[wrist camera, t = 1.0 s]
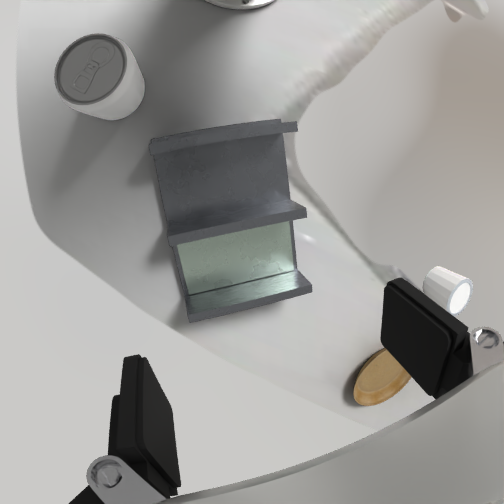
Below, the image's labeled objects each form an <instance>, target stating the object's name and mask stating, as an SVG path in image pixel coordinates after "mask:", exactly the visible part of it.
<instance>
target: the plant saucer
mask: <svg viewBox="0 0 504 504" xmlns="http://www.w3.org/2000/svg"><path fill="white" fill-rule="evenodd" d="M410 379H411V375H410V374H409V373H408V372H407V371H406V370H405V369H404V368H403V367H402V366H401V365H400V363H399V362H398V361H397V360H396V359H395V358H394V357H393V356H392V355H391V354H390V353H389V352H388V351H387V349H386V348H384V349H382V350H380V351H378V352H377V353H376V354H374V355H373V356H372V357H371V358H370V359H369V360H368V361H367V362H366V363H365V364H364V366H363V367H362V368H361V370H360V372H359V374H358V376H357V379H356V382H355V385H354V392H353V395H354V399H355V401H356V402H357V403H358V404H360V405H363V406H372V405H376V404H379V403H382V402H384V401H386V400H388V399H389V398H391V397H393V396H394V395H395V394H397V393H398V392H399V391H400V390H401V389H402V388H403V387H404V386H405V385H406V384H407V383H408V381H409V380H410Z"/></svg>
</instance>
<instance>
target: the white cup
mask: <svg viewBox="0 0 504 504" xmlns="http://www.w3.org/2000/svg"><path fill="white" fill-rule="evenodd" d="M472 291H473V283H472V281H471V280H470V279H468V278H465V277H463V276H461V275H459V274H456V273H454V272H452V271H449V270H447V269H445V268H442V267H439V266H437V267H434V268H433V269H431V270H430V271H429V273H428V274H427V275H426V278H425V280H424V283H423V292H424V293H425V295H426V296H428V297H429V298H430V299H432V300H433V301H434V302H436V303H437V304H438V305H440V306H441V307H442V308H444V309H445V310H446V311H448V312H449V313H450V314H451V315H453V316H457V315H459V313H461V312H462V311H463V310H464V308H465V307H466V306H467V304H468V302H469V300H470V298H471V295H472Z"/></svg>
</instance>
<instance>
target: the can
mask: <svg viewBox="0 0 504 504" xmlns="http://www.w3.org/2000/svg"><path fill="white" fill-rule="evenodd" d="M54 78H55V85H56V88H57V90H58V93H59V95H60V97H61V99H62V100H63V101H64V103H65V104H66V105H68V106H69V107H70V108H72V109H74V110H76V111H79V112H82V113H85V114H88V115H91V116H95V117H98V118H101V119H105V120H118V119H122V118H124V117H127V116H128V115H130V114H131V113H133V112H134V111H135V110H136V109H137V108H138V106H139V105H140V103H141V102H142V99H143V97H144V93H145V82H144V79H143V76H142V73H141V71H140V69H139V66H138V64H137V62H136V59H135V57H134V55H133V53H132V51H131V49H130V48H129V47H128V46H127V45H126V44H125V43H124V42H123V41H122V40H120V39H118V38H116V37H113V36H110V35H106V34H90V35H87V36H84V37H81V38H79V39H78V40H76V41H74V42H73V43H72V44H71V45H69V46H68V47H67V48H66V50H65V51H64V52H63V53H62V55H61V56H60V58H59V60H58V62H57V65H56V68H55V76H54Z"/></svg>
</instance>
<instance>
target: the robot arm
mask: <svg viewBox="0 0 504 504" xmlns="http://www.w3.org/2000/svg"><path fill="white" fill-rule="evenodd" d="M205 1H207V2H209V3H212V4H214V5H217V6H220V7H224V8H229V9H253V8H258V7H262V6H265V5H267V4H269V3H271V2H273V1H274V0H205ZM243 3H245V4H243ZM467 331H468V327H467V326H465V325H464V324H463V323H462V322H460V321H459V320H458V319H456V318H455V317H454V316H453V315H451V314H450V313H449V312H448V311H446V310H445V309H444V308H442V307H441V306H440V305H438V304H437V303H436V302H434V301H433V300H432V299H430V298H429V297H428V296H426V295H425V294H424V293H422V292H421V291H419V290H418V289H417V288H415V287H414V286H413V285H411V284H410V283H408V282H407V281H406V280H404V279H403V278H397V279H394V280H392V281H389V282H388V283H387V286H386V287H385V288H384V301H383V315H382V327H381V343H382V345H383V346H384V347H385V348H386V349H387V351H388V352H389V353H390V354H391V355H392V356H393V357H394V358H395V359H396V360H397V361H398V362H399V363H400V365H401V366H402V367H403V368H404V369H405V370H406V371H407V372H408V373H409V374H410V375H411V377H412V378H413V379H414V380H415V381H416V382H417V383H418V384H419V385H420V387H421V388H422V389H423V390H424V391H425V392H426V393H427V394H428V395H429V396H433V397H434V398H435V399H436V400H434V401H433V402H431V403H429V404H428V405H426V406H424V407H423V408H421V409H419V410H417V411H416V412H414V413H412V414H410V415H409V416H407V417H405V418H403V419H401V420H399V421H397V422H395V423H393V424H392V425H390V426H388V427H386V428H384V429H382V430H380V431H378V432H376V433H374V434H371V435H369V436H367V437H365V438H363V439H361V440H359V441H356V442H354V443H352V444H349V445H347V446H345V447H343V448H340V449H338V450H335V451H333V452H330V453H328V454H325V455H323V456H320V457H317V458H315V459H312V460H310V461H307V462H304V463H301V464H298V465H296V466H292V467H289V468H286V469H283V470H280V471H277V472H274V473H270V474H267V475H263V476H260V477H256V478H253V479H249V480H245V481H242V482H238V483H234V484H230V485H226V486H221V487H218V488H213V489H208V490H203V491H199V492H195V493H190V494H185V495H181V496H177V497H174V498H170V496H175V495H178V493H177V487H181V480H180V473H179V465H178V458H177V450H176V441H175V431H174V422H173V412H172V408H171V405H170V403H169V401H168V399H167V397H166V396H165V394H164V392H163V390H162V388H161V386H160V384H159V382H158V380H157V378H156V377H155V374H154V372H153V370H152V368H151V366H150V364H149V362H148V360H147V358H146V357H143V358H142V357H141V356H140V355H139V354H138V355H133V356H129V357H125V358H124V361H123V369H122V379H121V388H120V395H115V396H114V397H113V400H112V409H111V419H110V430H109V444H108V445H109V446H108V455H107V456H103V457H99V458H98V459H96V460H94V461H93V463H91V465H90V466H89V468H88V470H87V475H86V476H87V482H88V484H89V485H88V486H87V487H86V488H85V489H84V490H83V491H82V492H81V493H80V494H79V495H77V496H76V497H75V499H73V500H72V501H71V502H70V503H69V504H504V342H503V340H502V337H501V335H500V334H499V333H498V332H497V331H495V330H494V329H492V328H489V327H478V328H475V329H474V330H473V331H472V332H471V334H470V333H468V332H467Z"/></svg>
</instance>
